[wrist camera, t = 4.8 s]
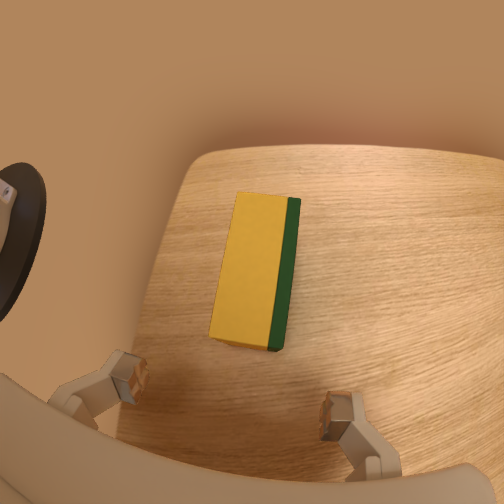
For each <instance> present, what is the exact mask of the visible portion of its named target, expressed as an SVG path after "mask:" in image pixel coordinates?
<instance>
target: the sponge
mask: <svg viewBox="0 0 504 504" xmlns="http://www.w3.org/2000/svg"><path fill="white" fill-rule="evenodd" d="M300 206H301V199H300V198H292V197H289V198H288V197H284V196H275V195H267V194H258V193H249V192H237V196H236V200H235V205H234V210H233V214H232V219H231V223H230V228H229V233H228V237H227V242H226V247H225V252H224V257H223V261H222V266H221V271H220V276H219V281H218V286H217V291H216V296H215V302H214V307H213V312H212V317H211V322H210V328H209V333H208V337H209V338H212V339H215V340H217V341H220V342H223V343H226V344H228V345H234V346H240V347H246V348H252V349H259V350H268V351H273V352H278V351H279V350H281V349H283V346H284V339H285V333H286V326H287V318H288V311H289V304H290V296H291V288H292V280H293V272H294V263H295V255H296V245H297V236H298V226H299V216H300Z"/></svg>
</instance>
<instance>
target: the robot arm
mask: <svg viewBox="0 0 504 504" xmlns="http://www.w3.org/2000/svg"><path fill="white" fill-rule="evenodd" d="M16 196H17V190H16V189H15V188H13V187H12V186H10V185H9V184H7V183H6V182H5V181H3V180H2V179H0V252H1V250H2V247H3V245H4V242H5V239H6V235H7V231H8V227H9V221H10V214H11V209H12V206H13V204H14V201H15V199H16ZM146 365H147V362H146V359H144V358H141V357H138V356H135V355H132V354H129V353H126V352H123V351H120V350H115V351H114V352H113V353H112V355H111V356H110V357H109V359H108V360H107V361H106V363H105V364H104V365H103V367H102V368H101V370H100V371H94V372H92V373H90V374H87V375H85V376H83V377H81V378H78V379H76V380H73V381H71V382H68V383H66V384H64V385H61V386H59V387H58V389H57V390H56V391H55V393H54V394H53V395H52V397H51V398H50V399H49V400H48V402H47V403H46V402H44V401H43V400H41V399H39V398H38V397H36V396H34V395H33V394H32V393H30V392H29V391H27V390H26V389H24V388H23V387H22V386H20V385H19V384H17V383H16V382H15V381H13V380H12V379H11V378H9V377H8V376H7V375H5V374H3V373H0V504H497V501H496V497H495V493H494V489H493V487H492V484H491V482H490V480H489V478H488V477H487V476H486V475H485V474H484V473H482V472H481V471H480V470H479V469H477V468H476V467H475V466H473V465H471V464H470V463H461V464H458V465H454V466H451V467H447V468H443V469H439V470H434V471H430V472H425V473H420V474H414V475H409V476H402V470H401V463H400V457H399V453H398V452H397V451H396V450H395V449H394V448H393V446H392V445H391V444H390V443H389V442H388V441H387V440H386V439H385V438H384V437H383V436H382V435H381V433H380V432H379V431H378V430H377V429H376V428H375V427H374V426H373V425H372V424H371V423H370V421H366V415H365V408H364V401H363V395H362V393H361V392H345V391H328V392H327V393H326V396H325V397H326V400H325V401H323V402H322V405H321V408H320V415H319V421H320V422H321V423H322V425H321V426H320V428H319V441H333V442H337V443H338V444H339V446H340V447H341V449H342V450H343V452H344V453H345V455H346V456H347V458H348V459H349V461H350V463H351V464H352V466H353V467H354V469H355V470H354V471H353V472H352V473H351V474H350V475H349V476H348V477H347V478H346V479H345V482H301V481H286V480H275V479H265V478H257V477H250V476H244V475H238V474H232V473H226V472H221V471H217V470H212V469H207V468H203V467H199V466H195V465H191V464H187V463H184V462H180V461H177V460H173V459H170V458H167V457H163V456H160V455H157V454H154V453H151V452H149V451H146V450H143V449H140V448H137V447H135V446H132V445H130V444H127V443H125V442H122V441H120V440H117V439H115V438H113V437H110V436H108V435H106V434H104V433H102V432H99V431H97V430H98V425H97V424H96V422H95V421H94V419H93V418H94V417H96V416H97V415H99V414H101V413H102V412H104V411H105V410H107V409H109V408H110V407H112V406H114V405H115V404H116V403H118V402H120V401H121V400H122V401H125V402H128V403H131V404H134V405H137V403H138V401H139V399H140V398H141V396H142V394H141V390H143V389H145V388H146V387H147V385H148V382H149V370H148V369H147V368H146Z"/></svg>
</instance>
